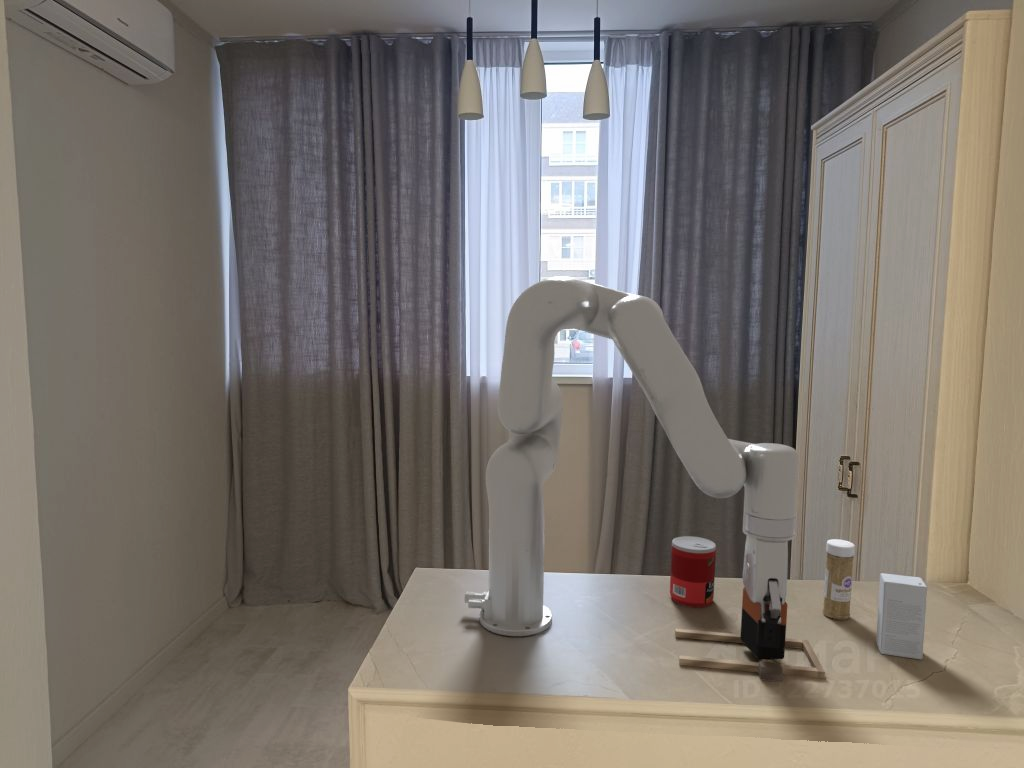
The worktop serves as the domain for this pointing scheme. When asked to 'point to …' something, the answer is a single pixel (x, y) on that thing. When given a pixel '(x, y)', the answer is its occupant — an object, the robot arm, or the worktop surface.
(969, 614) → the worktop surface
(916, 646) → the skincare box
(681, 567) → the canned food
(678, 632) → the track
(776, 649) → the battery
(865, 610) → the worktop surface
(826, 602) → the sprinkles bottle
